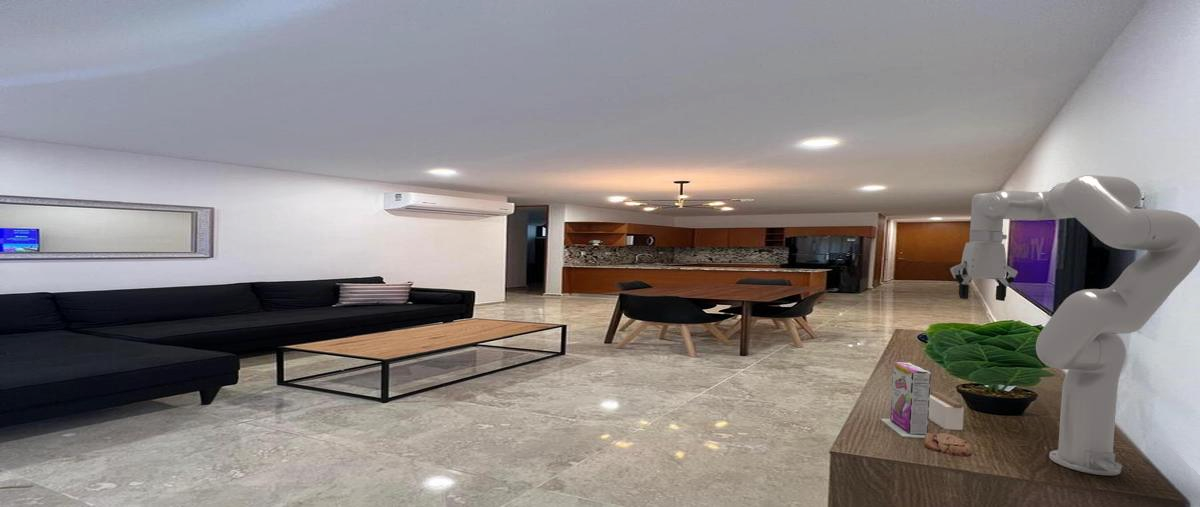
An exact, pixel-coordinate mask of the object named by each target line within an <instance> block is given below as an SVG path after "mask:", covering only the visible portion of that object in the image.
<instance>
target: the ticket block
mask: <svg viewBox="0 0 1200 507" xmlns="http://www.w3.org/2000/svg"><path fill="white" fill-rule="evenodd" d="M964 411H965V408H964V407H963V404H962V403H960V402H958V401H957V400H954V399H952V398H951V397H949V396H947V395H945V394H944V393H941V392H940V391H936V390H935V391H933V390H930V398H929V418H928V421H929V420H930V421H929V422H930V423H933V424H934V425H936V426H938V428H940V429H944V430H949V431H950V430H952V431H954V430H955V431H963V429H964V415H965V414H964Z"/></svg>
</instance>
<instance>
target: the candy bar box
mask: <svg viewBox="0 0 1200 507" xmlns="http://www.w3.org/2000/svg"><path fill="white" fill-rule="evenodd" d="M931 375H932V373H931V372H930V371H928V370H927V369H924V368H922V367H920V366H918V365H916V364H913V363H911V362H904V361H903V362H901V361H894V362H893V363H892V381H891V402H890V404H891V405H890V418H889V419H890V420H891V421H892V422H894V423H895V424H896V425H898V426H899V427H901V428H902V429H903V430H905V431H906V432H908V433H909V434H913V435H926V434H928V433H929V432H928V431H929V420H928V419H929V398H930V395H931V378H932V376H931Z"/></svg>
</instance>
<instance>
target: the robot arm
mask: <svg viewBox="0 0 1200 507" xmlns="http://www.w3.org/2000/svg"><path fill="white" fill-rule="evenodd" d="M1141 199H1142V192H1141V190H1140V188H1139V186H1138V185H1137V184H1136V183H1135V181H1132V180H1130V179H1128V178H1124V177H1121V176H1120V177H1119V176H1110V175H1107V176H1106V175H1092V174H1090V175H1089V174H1087V175H1081V176H1078V177H1075V178H1073V179H1071V180H1070V181H1068V182H1061V183H1057V184H1055V185H1054V186H1053V187H1052V188H1050V190H1047V191H1046V190H1045V191H1019V190H998V191H993V192H984V193H976V194H974V195H973V196H972V198H971V211H970V212H971V214H970V228H969V230H970V231H969V242H966V243H965V245H964V247H963V251H962V257H961V262H960V264H957V265H955V266H952V267H950V269H949V270H950V273H951V275H952V278H953V279H954V280H955V281H956V283H957V284H958V295H959V299H961V300H969V289H970V288H969V287H970V286H969V285H968V283H969V282H970V281H971V280H972V279H980V280H981V279H982V280H994V281H995V282H996V283H997V284H998V285H996V287H995V288H996V289H995V300H996V301H1000V302H1004V301H1005V300H1006V297H1007V287H1009V286H1010V284H1011V283H1012V282H1014V280H1015V278H1016V277H1017V274H1018V273H1019V272H1018V271H1017V270H1016V269H1014V268H1012V267H1011V266H1009V265H1007V254H1006V253H1007V252H1006V247H1005V244H1004V243H1003V240H1007V238H1008V237H1007V234H1004V232H1003V227H1004V220H1017V221H1019V220H1021V221H1048V220H1049V221H1050V220H1060V219H1061V220H1063V219H1064V220H1065V219H1073V218H1075V219H1076V220H1077V221H1078V222H1079V223H1080V224H1081V225H1082V226H1084V227H1085V228H1086V229H1087V230H1088V231H1089V232H1090V233H1091V234H1092V235H1094V237H1096V238H1097V239H1098V240H1099V241H1100V242H1101V243H1103V244H1104V245H1107V246H1108V247H1110V248H1114V249H1119V250H1131V251H1146V253H1144V254H1143V255H1142V256H1141V257H1139V258H1138V259H1136V260H1134V262H1132V263H1131V264H1129V265H1128V266H1127V267H1126V268H1125V269H1124V270H1123V271H1122V273H1121V274H1120V276H1118V278H1117V279H1116V280H1115V281H1114V282H1113V283H1112V284H1111V285H1110V286H1109V287H1106V288H1101V289H1099V288H1089V289H1088V288H1087V289H1081V290H1079V291H1076V292H1074V293H1072V294H1070V295H1069V296H1068V297H1066V298H1065V299H1063V301H1062V303H1061V304H1060V305H1058V308H1057V309H1056V311H1055V312H1054V313H1053V315H1051V317H1050V318H1049V320H1047V322H1046V323H1045V325H1044V326H1043V328H1041V329H1042V330H1040V333H1039V334H1038V336H1037V339H1036V343H1035V352H1036V356H1037V357H1038V359H1039V361H1041V362H1042V363H1043V364H1044V365H1045V366H1047V367H1049V368H1052V369H1056V370H1067V372H1066V374H1065V376H1064V379H1063V383H1062V389H1061V390H1062V392H1061V402H1060V417H1059V418H1060V419H1059V433H1058V434H1059V435H1058V445H1057V446H1058V447H1057V448H1058V449H1056V450H1051V451H1049V456H1048V457H1049V459H1050V460H1051V461H1052V462H1054V463H1055V464H1058V465H1059V466H1061V467H1065V468H1067V469H1070V470H1074V471H1077V472H1082V473H1085V474H1091V475H1096V476H1097V475H1099V476H1110V477H1111V476H1112V477H1113V476H1118V475H1120V474H1121V472H1122V468H1123V465H1122V464H1121V463H1119V462H1116V461H1115V460H1116V453H1114V440H1115V439H1114V437H1115V428H1116V426H1115V425H1116V411H1117V400H1118V389H1119V381H1120V377H1121V372H1122V370H1123V366H1124V364H1125V361H1126V356H1127V355H1126V353H1127V350H1126V344H1125V342H1124V340H1123V339H1122V338H1121V336H1119V335H1121V334H1131V333H1135V332H1138V331H1139V330H1140V329H1142V328H1143V327H1144V326H1145V325H1146V323H1147V322H1148V321H1149V320H1150V319H1151V318H1152V316H1154V314H1155V313H1156V312H1157V310H1159V309H1160V307H1161V306H1162V305H1163V304H1164V303H1165V302H1166V300H1167V299H1169V296H1170V295H1171V294H1172V293H1173V291H1174V290H1175V289H1176V288H1177V287H1178V286H1179V285H1180V284H1181V283H1182V282H1183V280H1185V279H1186V278H1187V277H1188V275H1190V274H1191V273H1192V271H1193V270H1194V269H1195V267H1196V266H1197V265H1198V263H1199V262H1200V225H1199V224H1198V222H1196V221H1195V220H1194V219H1193V218H1192V217H1190V216H1188V215H1186V214H1183V213H1181V212H1177V211H1173V210H1167V209H1154V208H1150V209H1149V208H1136V207H1137V205H1139V203H1140V201H1141ZM959 271H960V272H959ZM1006 273H1008V275H1007V274H1006ZM1006 275H1007V276H1006Z"/></svg>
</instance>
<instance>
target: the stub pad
mask: <svg viewBox="0 0 1200 507" xmlns="http://www.w3.org/2000/svg"><path fill="white" fill-rule="evenodd" d="M890 419H891V418H880V419H879V420H880V421H881V422H883V424H885V425H887V427H889V428H890V429H891V430H893V431H894V432H895V433H897V434H898V435H899V436H900V437H902V438H912V439H913V438H915V439H925V435H913V434H909V433H908V432H906V431H905V430H903V429H902V428H901V427H899V426H898V425H896V424H895V423H894V422H892V421H891V420H890Z"/></svg>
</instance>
